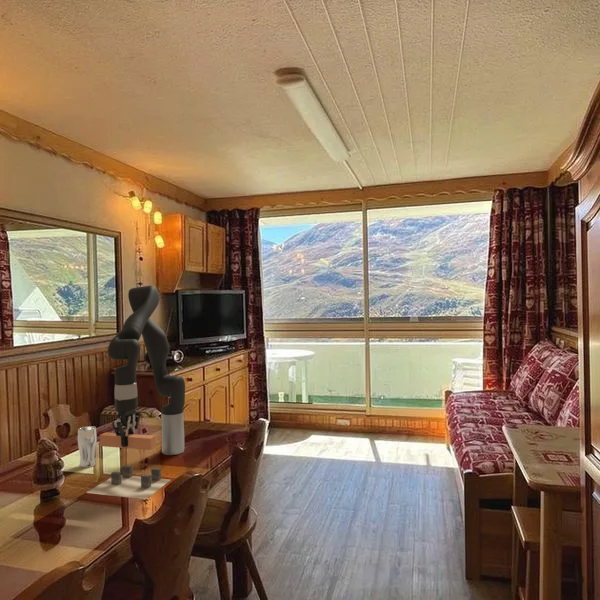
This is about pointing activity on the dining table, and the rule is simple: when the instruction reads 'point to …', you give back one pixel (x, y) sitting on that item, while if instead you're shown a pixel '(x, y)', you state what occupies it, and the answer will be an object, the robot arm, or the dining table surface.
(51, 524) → the dining table surface
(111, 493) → the board
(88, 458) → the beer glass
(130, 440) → the bar
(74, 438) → the dining table surface
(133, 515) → the dining table surface
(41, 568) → the dining table surface
